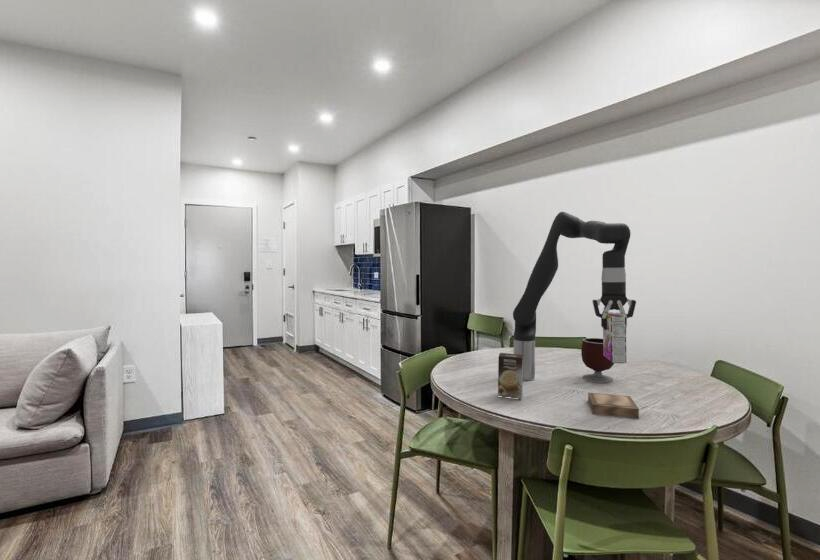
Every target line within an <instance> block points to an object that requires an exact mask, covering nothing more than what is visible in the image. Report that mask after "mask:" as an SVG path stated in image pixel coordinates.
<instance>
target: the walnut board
mask: <svg viewBox="0 0 820 560" xmlns="http://www.w3.org/2000/svg"><path fill="white" fill-rule="evenodd" d="M587 393H588V394H587V398H588V399H587V401H588V403H589V404H588V405H589V407H590V409H591V413H592V414H593V415H595V414H596V415H602V416H603V415H606V416H614V417H623V418H624V417H625V418H633V419H634V418H635V419H640V409H639V407H638V405H637V404H636V403H635V401H634V400H633V398H632V397H631V396H630V395H622V394H621V395H619V394H611V393H598V392H587Z"/></svg>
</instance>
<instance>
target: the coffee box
mask: <svg viewBox="0 0 820 560" xmlns="http://www.w3.org/2000/svg"><path fill="white" fill-rule="evenodd" d="M497 365H498V367H497V368H498V370H497V371H498V372H497V397H498V396H502V397H511V398H518V399H523V387H524V384H523V383H524V380H523V355H520V354H514V353H507V352H500V353H499V354H498V364H497Z"/></svg>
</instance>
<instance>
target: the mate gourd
mask: <svg viewBox="0 0 820 560" xmlns="http://www.w3.org/2000/svg"><path fill="white" fill-rule="evenodd" d="M580 349H581V351H580V354H581V359H582V362H583V364H584V365H585V367H586V368H588V369H591V370H593V371H594V372H593V373H587V374H583V376H582V379H583V378H584V379H583V380H585V381H587V380H588V381H587V382H590V383H591V382H592V383H596V384H597V383H598V384H610V382H611V383H613V382H614V378H613V377H611V376H609V375H605V374H603V371H607V370H610V369H611V368H612V367H613V366H614V365H615V363H612V362H610V361H609V360H608V359H607V358H605V357H604V356H603V338H599V337H588V338H583V339H582V343H581V348H580Z"/></svg>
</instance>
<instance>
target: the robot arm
mask: <svg viewBox="0 0 820 560" xmlns="http://www.w3.org/2000/svg"><path fill="white" fill-rule="evenodd" d="M560 236H562V237H565V238H568V239H580V238H585V239H588V240H594V241H596V242H597V243H600V244H604V245H605V244H606V245H608V244H613V247H612V249H610V250H607V251H604V252H603V253H602V261H601V262H602V269H601V297H600V298H598V299H593V300H592V302H591V303H592V305H593V310H594V314H595V316H597V317H598V318H600V326H601V328H602V330H603V329H606V316H607V313H608V312H610V311H613V310H616V311H619V312H618V313H620V314H622V315H625V316H626V328H627V327H628V321H627V319H629V318H633V317H634V313H635V308H636V305H637V301H636V300H635V299H629V298H627V292H626V291H627V288H626V287H627V279H626V277H627V274H626V261H625V260H626V253H627V249H628V246H629V243H630V238H631V229H630V227H629V225H627V224H626V223H624V222H623V223H621V222H620V223H619V222H617V223H616V222H615V223H613V222H612V223H610V222H608V223H606V222H605V221H599V220H589V221H584V220H582V219H581V218H579V217H578V216H575V215H573V214H570V213H568V212H566V211H560V212H559V213H557V215H556V216H555V217H554V219H553V221H552V224H551V226H550V229H549V231H548V234H547V237H546V240H545V243H544V245H543V248H542V250H541V252H540V254H539V255H538V258H537V260H536V262H535V264H534V267H533V268H532V271H531V274H530V276H529V278H528V280H527V285H526V288H525V289H524V293H523V294H522V296H521V298H520V299H519V301H518V303H517V304H516V306H515V307H514V309H513V311H512V318H513V321H514V331H513V354H520V355H523V381H526V380H528V381H533V380H532V379H534V378H535V377H536V373H535V372H536V332H537V310H538V309H537V308H538V306H539V303H540V301H541V299H542V298H543V296H544V294H545V293H546V292H547V289H548V288H549V287H550V285H551V283H552V282H553V280H554V277H555V276H556V273H557V271H558V270H559V258H558V242H559V239H560ZM601 303H602V305H603V306H604V307H603V309H602V312H600V308H599V306H600V304H601ZM626 304H627V305H628V306H629V307H628V311H627V313H626V311H625V309H624V307H625V305H626ZM534 380H535V379H534Z"/></svg>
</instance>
